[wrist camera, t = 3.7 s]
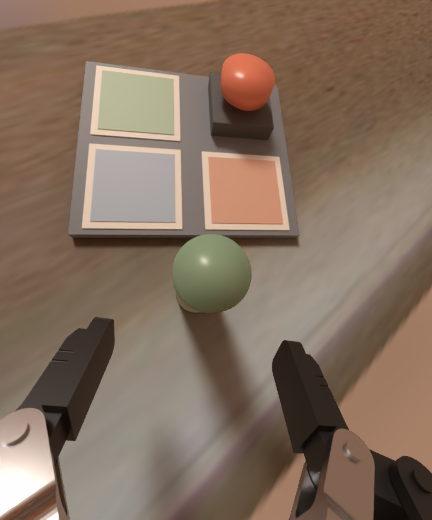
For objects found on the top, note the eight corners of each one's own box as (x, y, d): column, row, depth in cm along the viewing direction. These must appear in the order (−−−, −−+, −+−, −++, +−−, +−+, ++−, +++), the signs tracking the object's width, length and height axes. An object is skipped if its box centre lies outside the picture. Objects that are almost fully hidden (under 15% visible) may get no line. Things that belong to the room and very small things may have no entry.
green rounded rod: (175, 315, 18) (173, 314, 9) (174, 274, 19) (172, 233, 10) (216, 312, 19) (255, 310, 9) (213, 273, 20) (247, 234, 10)
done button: (218, 120, 21) (224, 93, 19) (215, 81, 22) (220, 49, 20) (265, 125, 22) (278, 99, 20) (261, 87, 23) (271, 57, 21)
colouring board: (72, 237, 19) (57, 226, 16) (89, 69, 23) (79, 41, 20) (295, 238, 22) (309, 229, 20) (274, 92, 26) (283, 70, 24)
